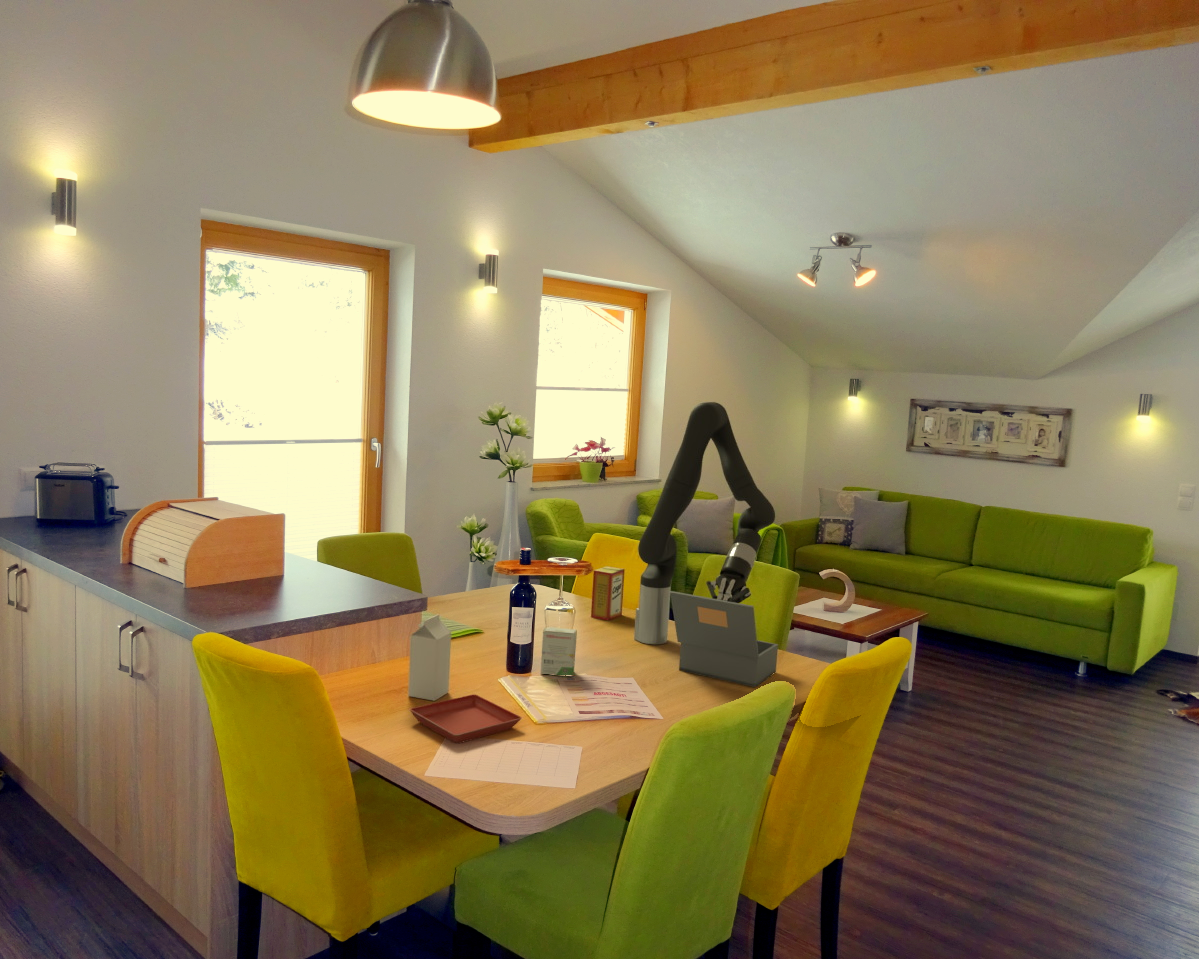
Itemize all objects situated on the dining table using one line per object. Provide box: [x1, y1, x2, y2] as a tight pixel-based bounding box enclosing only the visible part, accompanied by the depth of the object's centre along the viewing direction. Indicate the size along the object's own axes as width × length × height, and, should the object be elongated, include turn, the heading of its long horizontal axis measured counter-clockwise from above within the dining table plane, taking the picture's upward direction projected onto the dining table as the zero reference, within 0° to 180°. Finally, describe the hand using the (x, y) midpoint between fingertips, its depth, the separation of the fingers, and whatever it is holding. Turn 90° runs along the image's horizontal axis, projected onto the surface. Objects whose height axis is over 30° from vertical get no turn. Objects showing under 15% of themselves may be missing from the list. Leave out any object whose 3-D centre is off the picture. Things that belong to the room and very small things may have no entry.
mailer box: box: [678, 639, 779, 688], centre depth 255 cm, size 22×16×8 cm
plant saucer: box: [409, 693, 522, 744], centre depth 205 cm, size 18×18×3 cm
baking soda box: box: [590, 565, 625, 621], centre depth 307 cm, size 10×6×16 cm
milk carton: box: [407, 613, 452, 702], centre depth 222 cm, size 7×7×19 cm
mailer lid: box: [670, 590, 759, 659], centre depth 243 cm, size 23×16×1 cm
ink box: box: [540, 626, 578, 676], centre depth 244 cm, size 9×5×12 cm, turn 84°
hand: (717, 615), depth 245 cm, fingers closed
